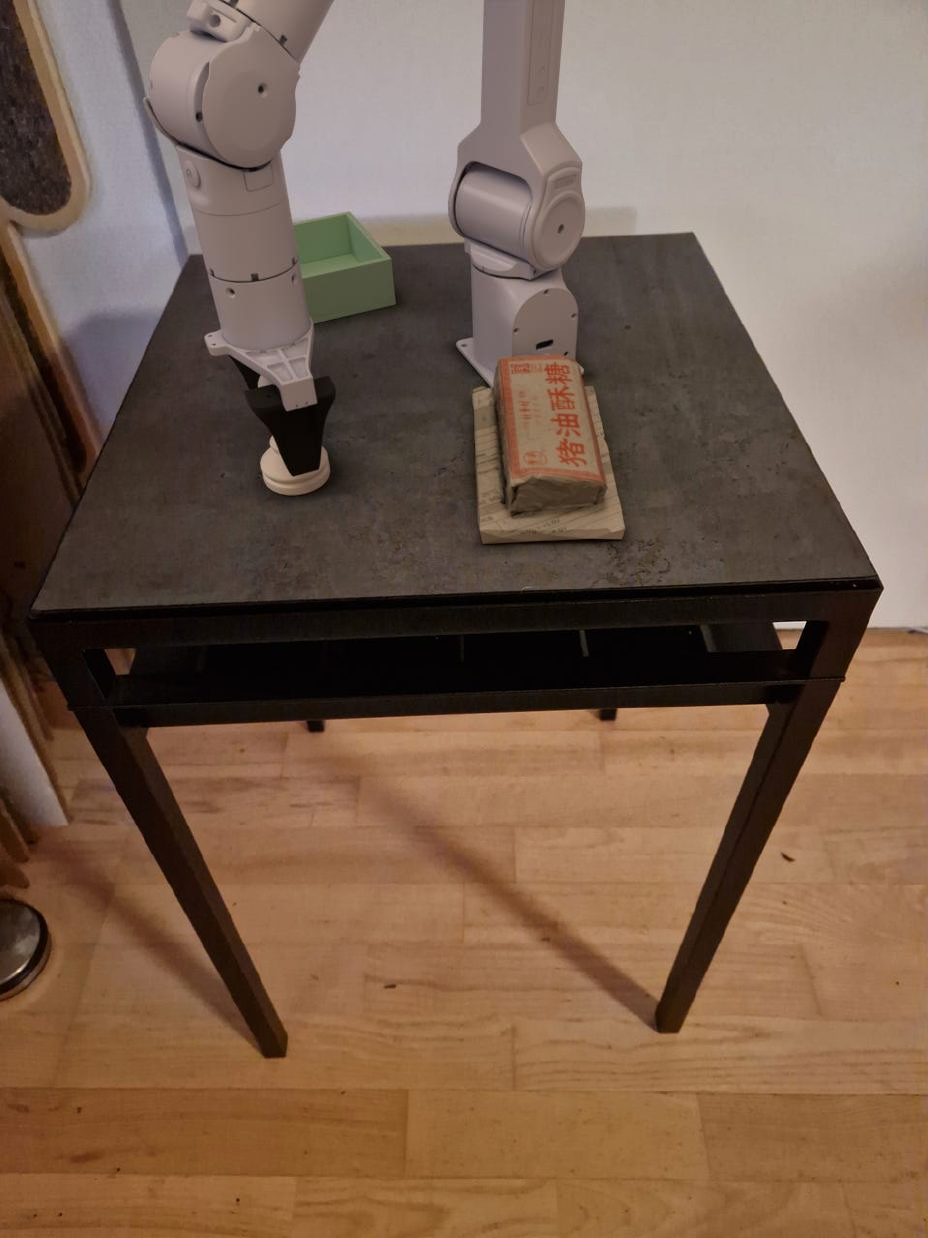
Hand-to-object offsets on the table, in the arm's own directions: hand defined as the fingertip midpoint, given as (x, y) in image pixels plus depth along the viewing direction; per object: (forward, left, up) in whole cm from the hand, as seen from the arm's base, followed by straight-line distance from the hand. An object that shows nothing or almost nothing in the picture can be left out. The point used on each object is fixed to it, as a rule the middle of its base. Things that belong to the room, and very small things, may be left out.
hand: (290, 444), depth 65 cm
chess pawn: (0, 0, -3) cm, 3 cm away
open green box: (+28, -10, -3) cm, 30 cm away
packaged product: (-7, -17, -3) cm, 19 cm away
